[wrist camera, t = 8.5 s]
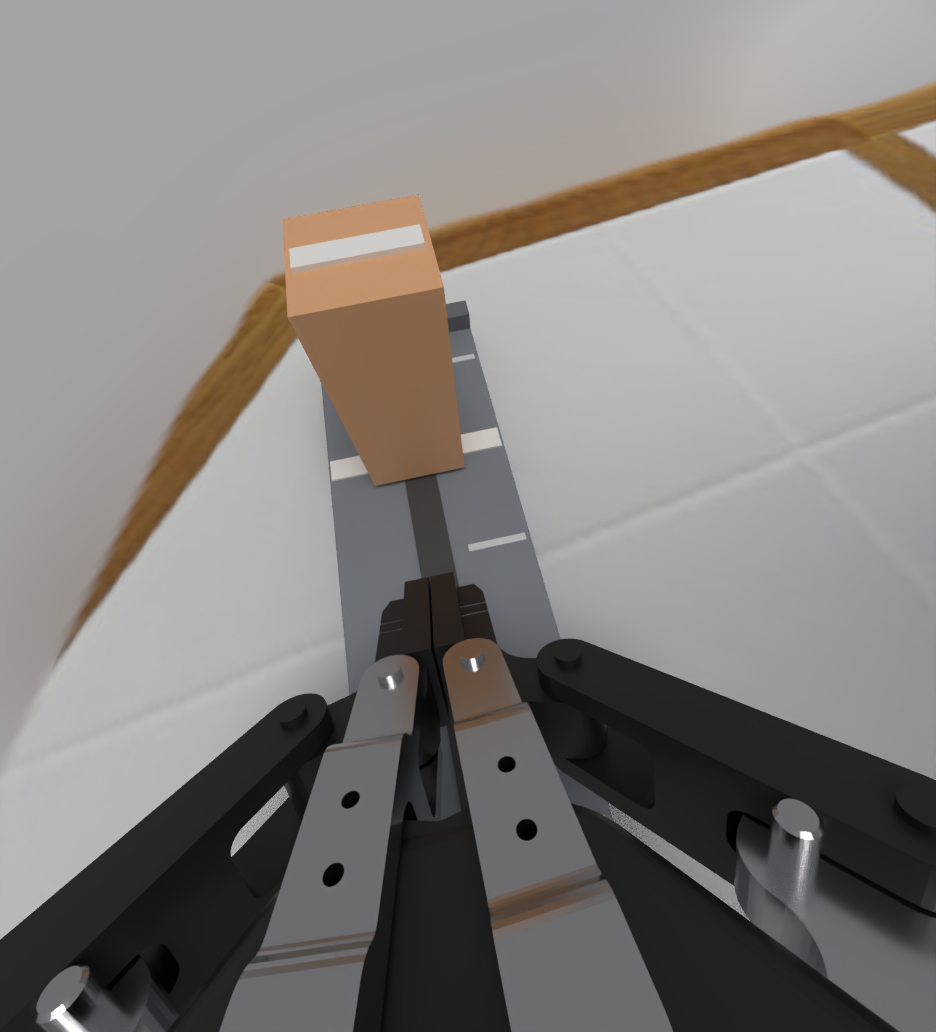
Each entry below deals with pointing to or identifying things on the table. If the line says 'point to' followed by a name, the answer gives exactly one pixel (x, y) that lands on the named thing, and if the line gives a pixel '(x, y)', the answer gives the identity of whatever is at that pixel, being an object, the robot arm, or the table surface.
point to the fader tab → (377, 333)
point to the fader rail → (442, 544)
